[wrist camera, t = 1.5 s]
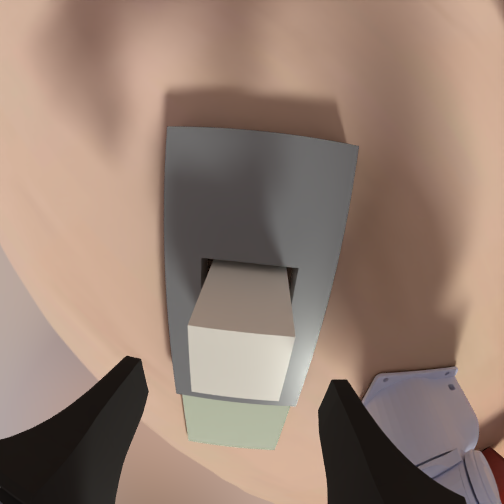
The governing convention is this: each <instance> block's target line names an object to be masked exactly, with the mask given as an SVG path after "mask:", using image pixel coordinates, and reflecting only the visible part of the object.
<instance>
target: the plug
mask: <svg viewBox="0 0 504 504" xmlns="http://www.w3.org/2000/svg"><path fill="white" fill-rule="evenodd" d="M294 341H295V329H294V321H293V314H292V306H291V298H290V291H289V283H288V276H287V269H286V267H284V266H274V265H264V264H255V263H245V262H236V261H226V260H217V259H214V260H213V262H212V265H211V267H210V270H209V272H208V275H207V277H206V280H205V282H204V285H203V287H202V290H201V292H200V295H199V297H198V300H197V302H196V305H195V307H194V310H193V313H192V315H191V318H190V320H189V323H188V344H189V362H190V377H191V390H192V392H198V393H204V394H211V395H218V396H226V397H234V398H244V399H255V400H268V401H279V399H280V395H281V391H282V388H283V384H284V380H285V376H286V373H287V369H288V365H289V361H290V357H291V353H292V349H293V345H294Z"/></svg>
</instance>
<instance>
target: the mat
mask: <svg viewBox="0 0 504 504" xmlns="http://www.w3.org/2000/svg"><path fill="white" fill-rule="evenodd" d="M182 397H183V405H184V412H185V420H186V426H187V433H188V439H189V441H193V442H199V443H206V444H212V445H220V446H228V447H238V448H249V449H264V450H275V447H276V445H277V442H278V439H279V437H280V434H281V431H282V428H283V425H284V423H285V420H286V417H287V414H288V411H289V408H290V406H275V405H260V404H248V403H238V402H229V401H221V400H213V399H206V398H200V397H194V396H188V395H182Z"/></svg>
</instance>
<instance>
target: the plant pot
mask: <svg viewBox="0 0 504 504" xmlns="http://www.w3.org/2000/svg"><path fill="white" fill-rule="evenodd" d="M482 454H483V455H484V457H485V458H486V460H487V462H488V464H489V466H490V469H491V471H492V473H493V476H494V478H495V481H496V484H497V488H498V492H499V497H500V500H501V503H502V504H504V458H503V457H502V456H501V455H499V454H498V453H497V452H496V451H495V450H493V449H492V448H491V447H489V448H487V449H486V450H484V451H482Z"/></svg>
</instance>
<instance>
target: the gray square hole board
mask: <svg viewBox="0 0 504 504" xmlns="http://www.w3.org/2000/svg"><path fill="white" fill-rule="evenodd" d="M358 149H359V146H356V145H351V144H346V143H341V142H335V141H330V140H324V139H318V138H311V137H305V136H298V135H290V134H283V133H274V132H265V131H255V130H243V129H230V128H212V127H167V138H166V155H165V181H164V252H165V279H166V296H167V311H168V324H169V335H170V345H171V354H172V363H173V371H174V379H175V387H176V393H177V394H182V395H188V396H194V397H200V398H206V399H213V400H221V401H229V402H238V403H248V404H260V405H275V406H296V404H297V401H298V398H299V396H300V393H301V390H302V387H303V384H304V381H305V378H306V375H307V372H308V369H309V366H310V363H311V359H312V356H313V353H314V350H315V346H316V343H317V340H318V336H319V333H320V329H321V326H322V322H323V319H324V315H325V312H326V308H327V304H328V300H329V296H330V293H331V289H332V285H333V281H334V276H335V272H336V268H337V264H338V259H339V255H340V250H341V246H342V241H343V236H344V232H345V227H346V222H347V216H348V211H349V206H350V200H351V194H352V189H353V183H354V176H355V170H356V163H357V156H358ZM208 259H217V260H226V261H236V262H245V263H255V264H264V265H274V266H284V267H293V268H292V274H291V279H290V285H289V291H290V298H291V306H292V314H293V321H294V329H295V341H294V345H293V349H292V353H291V357H290V361H289V365H288V369H287V373H286V376H285V380H284V384H283V388H282V391H281V395H280V399H279V401H268V400H255V399H244V398H234V397H226V396H218V395H211V394H204V393H198V392H192V390H191V377H190V362H189V344H188V323H189V320H190V318H191V315H192V313H193V310H194V307H195V305H196V302H197V300H198V297H199V295H200V292H201V290H202V287H203V285H204V282H205V280H206V277H207V269H208Z"/></svg>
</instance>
